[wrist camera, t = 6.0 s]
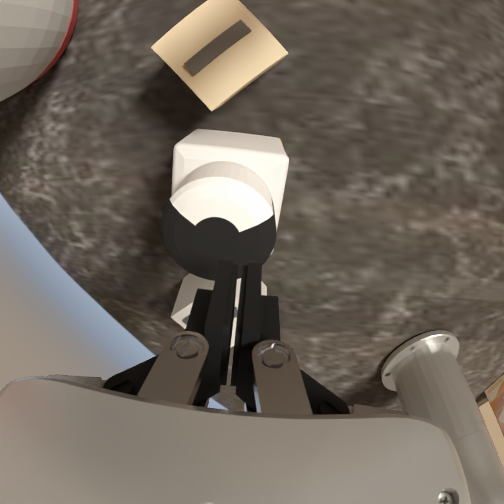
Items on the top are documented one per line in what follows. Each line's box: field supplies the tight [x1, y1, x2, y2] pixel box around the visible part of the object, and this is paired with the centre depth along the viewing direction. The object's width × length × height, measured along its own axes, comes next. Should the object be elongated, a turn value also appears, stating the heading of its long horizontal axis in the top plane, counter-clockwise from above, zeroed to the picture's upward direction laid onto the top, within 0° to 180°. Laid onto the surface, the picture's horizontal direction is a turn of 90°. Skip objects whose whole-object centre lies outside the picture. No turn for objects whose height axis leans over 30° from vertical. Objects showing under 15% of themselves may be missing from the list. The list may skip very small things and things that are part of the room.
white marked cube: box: [171, 273, 267, 348], centre depth 29 cm, size 6×6×6 cm
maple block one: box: [151, 0, 288, 111], centre depth 18 cm, size 6×6×6 cm
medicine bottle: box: [161, 129, 289, 281], centre depth 21 cm, size 7×7×12 cm
